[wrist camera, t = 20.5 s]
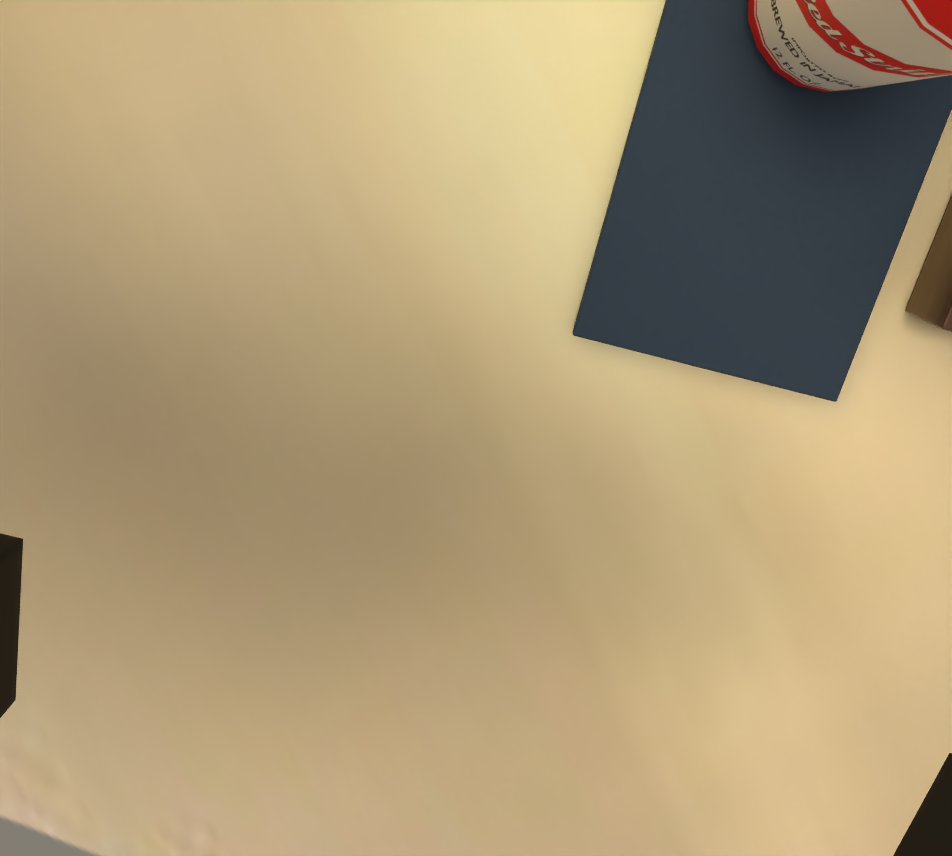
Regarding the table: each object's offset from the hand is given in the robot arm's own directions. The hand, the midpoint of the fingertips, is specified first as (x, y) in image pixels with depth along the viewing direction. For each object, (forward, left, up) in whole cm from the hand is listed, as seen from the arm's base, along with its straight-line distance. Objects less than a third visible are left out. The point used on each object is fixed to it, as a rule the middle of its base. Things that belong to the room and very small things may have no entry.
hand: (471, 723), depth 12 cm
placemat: (-8, +11, -25) cm, 29 cm away
